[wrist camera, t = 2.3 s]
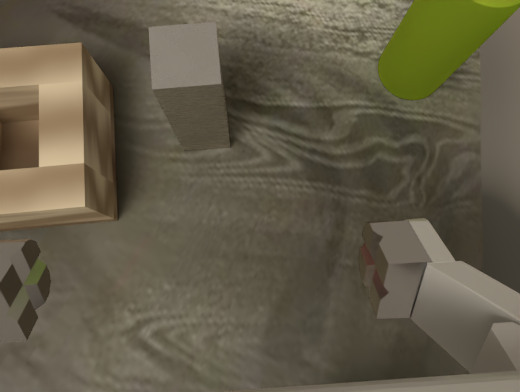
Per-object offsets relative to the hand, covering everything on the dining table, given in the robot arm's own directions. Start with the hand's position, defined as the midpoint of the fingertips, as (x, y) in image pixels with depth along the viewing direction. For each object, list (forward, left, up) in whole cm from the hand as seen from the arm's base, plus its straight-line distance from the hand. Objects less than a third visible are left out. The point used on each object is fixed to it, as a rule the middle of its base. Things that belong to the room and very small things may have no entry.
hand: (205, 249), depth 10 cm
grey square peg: (+11, +5, -24) cm, 27 cm away
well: (+6, +18, -24) cm, 30 cm away
